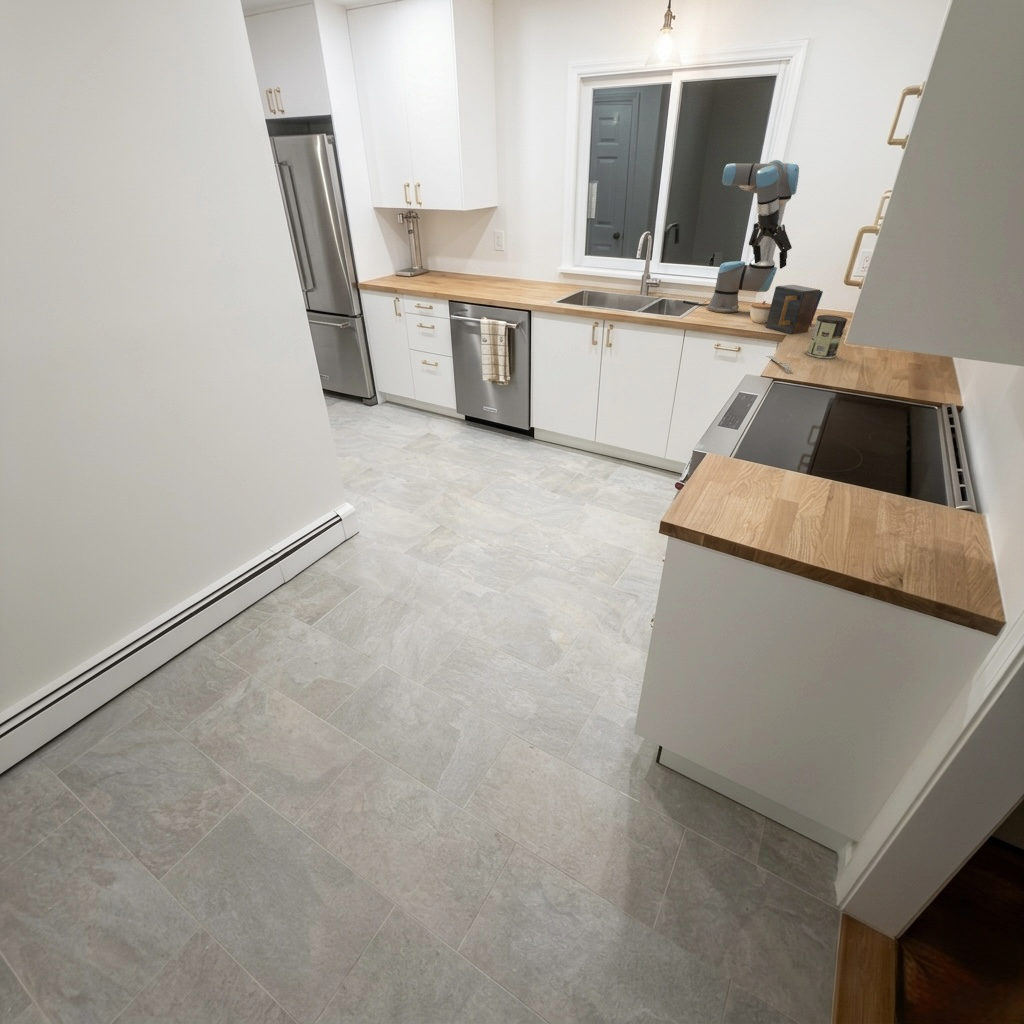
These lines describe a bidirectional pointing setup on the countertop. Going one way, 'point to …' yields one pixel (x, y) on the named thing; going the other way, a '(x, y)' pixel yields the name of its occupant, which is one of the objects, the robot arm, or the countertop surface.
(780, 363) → the fork
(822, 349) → the coffee can
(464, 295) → the countertop surface
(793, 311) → the cupboard door
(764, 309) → the trinket box
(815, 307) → the brown tall block
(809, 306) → the cupboard
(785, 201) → the robot arm
